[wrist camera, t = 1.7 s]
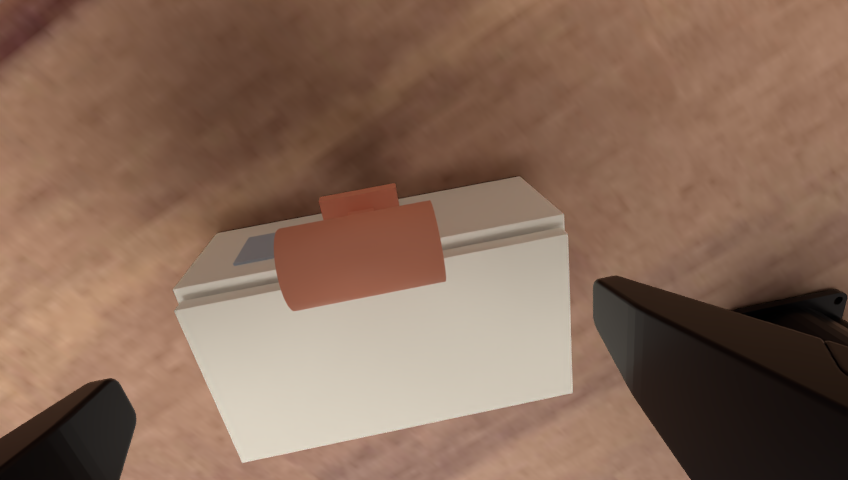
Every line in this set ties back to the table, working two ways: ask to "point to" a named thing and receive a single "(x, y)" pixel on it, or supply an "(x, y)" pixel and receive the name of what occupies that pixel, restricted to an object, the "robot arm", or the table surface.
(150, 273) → the table surface
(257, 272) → the carton
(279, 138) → the table surface
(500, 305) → the flap
